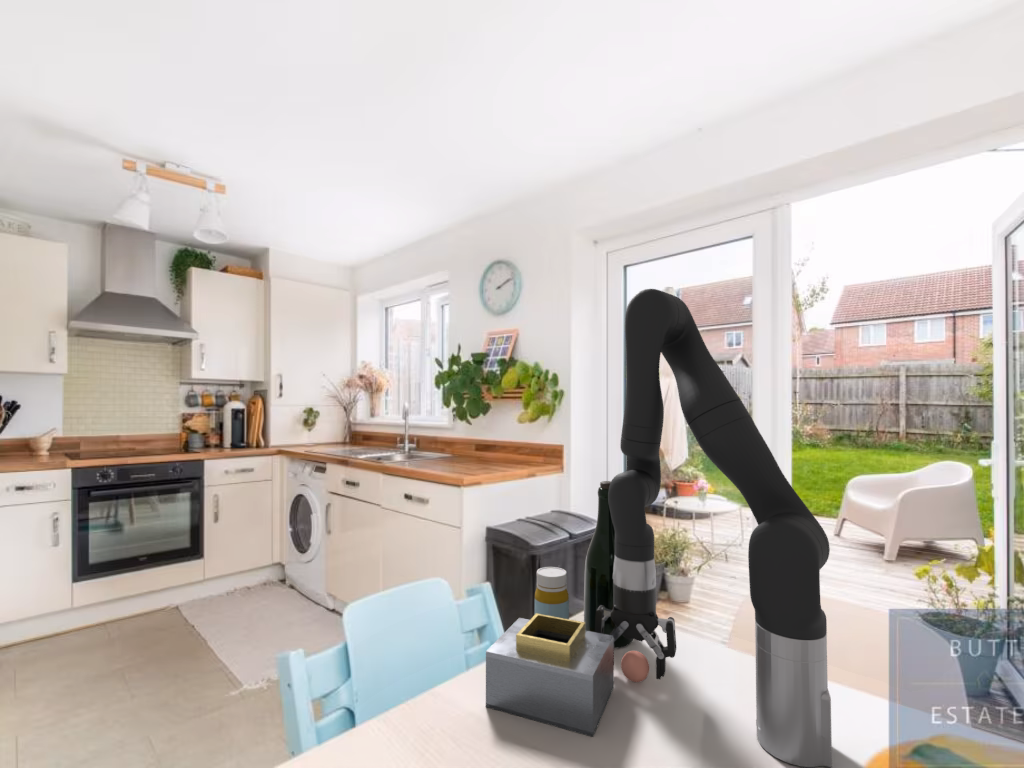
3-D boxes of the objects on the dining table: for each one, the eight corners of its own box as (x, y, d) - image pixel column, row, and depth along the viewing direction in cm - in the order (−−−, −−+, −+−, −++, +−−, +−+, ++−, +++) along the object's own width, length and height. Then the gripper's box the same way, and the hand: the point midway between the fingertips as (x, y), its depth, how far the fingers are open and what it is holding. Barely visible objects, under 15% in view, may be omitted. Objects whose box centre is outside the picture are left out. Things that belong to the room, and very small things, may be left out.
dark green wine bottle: (584, 648, 102) (584, 485, 103) (583, 625, 112) (582, 477, 113) (637, 651, 101) (636, 486, 102) (631, 628, 111) (630, 478, 112)
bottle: (568, 638, 106) (568, 566, 107) (569, 655, 99) (568, 578, 100) (535, 636, 107) (535, 565, 107) (533, 653, 100) (533, 577, 101)
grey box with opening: (613, 688, 88) (613, 621, 88) (593, 736, 75) (592, 658, 76) (519, 665, 95) (519, 604, 96) (485, 706, 82) (485, 635, 83)
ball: (651, 676, 92) (651, 648, 92) (647, 691, 87) (646, 661, 87) (624, 670, 94) (623, 643, 94) (618, 684, 89) (618, 655, 89)
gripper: (677, 580, 92) (678, 670, 91) (600, 569, 97) (600, 653, 97) (673, 594, 85) (673, 692, 84) (590, 581, 91) (590, 673, 90)
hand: (634, 671), depth 91 cm, fingers open, 8 cm apart
